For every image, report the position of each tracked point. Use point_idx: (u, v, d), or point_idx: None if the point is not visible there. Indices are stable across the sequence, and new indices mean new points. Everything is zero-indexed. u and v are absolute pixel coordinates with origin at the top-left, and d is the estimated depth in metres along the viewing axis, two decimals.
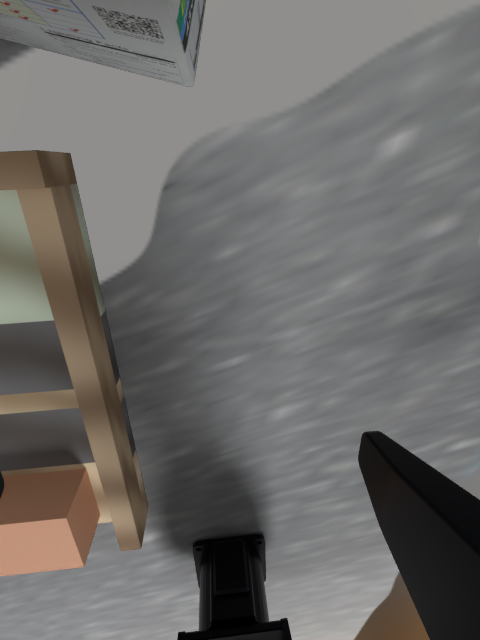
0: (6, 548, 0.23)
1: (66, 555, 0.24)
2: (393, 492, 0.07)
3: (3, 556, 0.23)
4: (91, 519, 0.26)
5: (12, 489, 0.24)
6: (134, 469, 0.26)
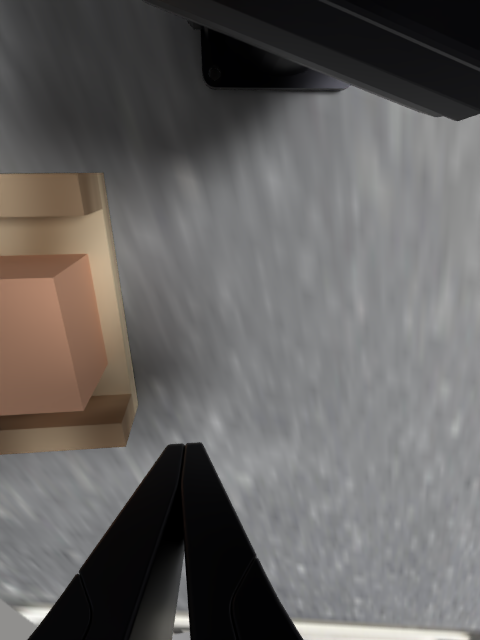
0: (6, 382, 0.14)
1: (19, 301, 0.13)
2: None
3: (29, 390, 0.15)
4: (45, 261, 0.15)
5: None
6: None
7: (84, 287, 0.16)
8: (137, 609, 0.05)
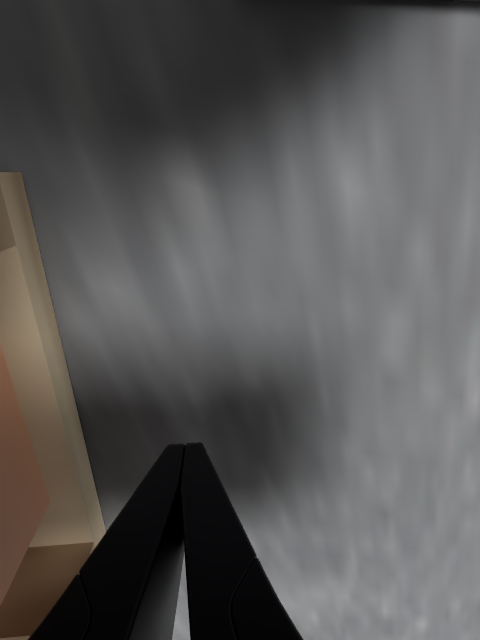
0: None
1: None
2: None
3: None
4: None
5: None
6: None
7: None
8: (137, 609, 0.05)
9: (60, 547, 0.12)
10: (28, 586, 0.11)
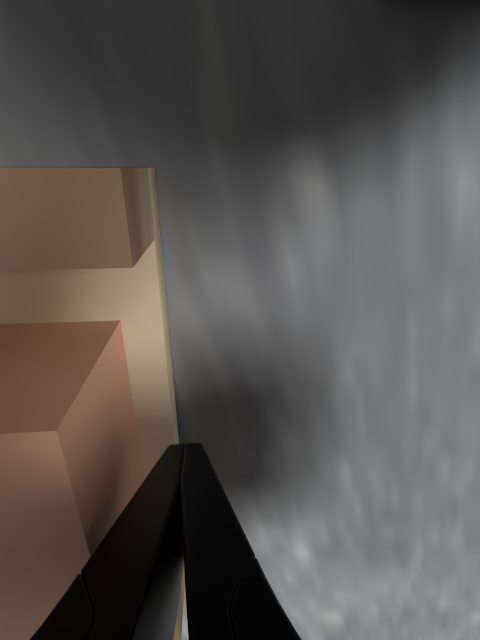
0: None
1: None
2: None
3: (3, 629, 0.07)
4: (38, 350, 0.07)
5: None
6: None
7: (116, 391, 0.08)
8: (139, 609, 0.05)
9: None
10: None
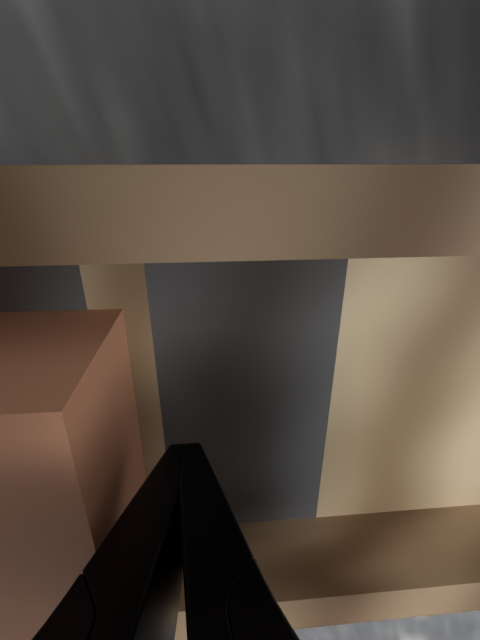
0: None
1: None
2: None
3: (4, 615, 0.07)
4: (41, 336, 0.07)
5: None
6: None
7: (118, 379, 0.08)
8: (141, 609, 0.05)
9: (463, 508, 0.13)
10: (470, 539, 0.12)
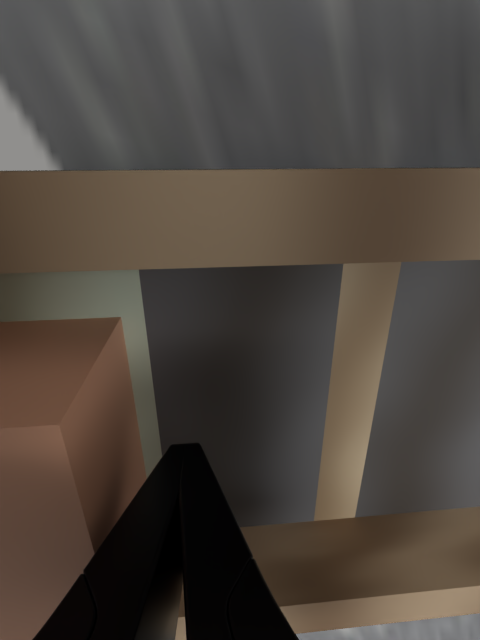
0: None
1: None
2: None
3: (7, 626, 0.07)
4: (39, 346, 0.07)
5: None
6: None
7: (117, 387, 0.08)
8: (142, 608, 0.05)
9: None
10: None
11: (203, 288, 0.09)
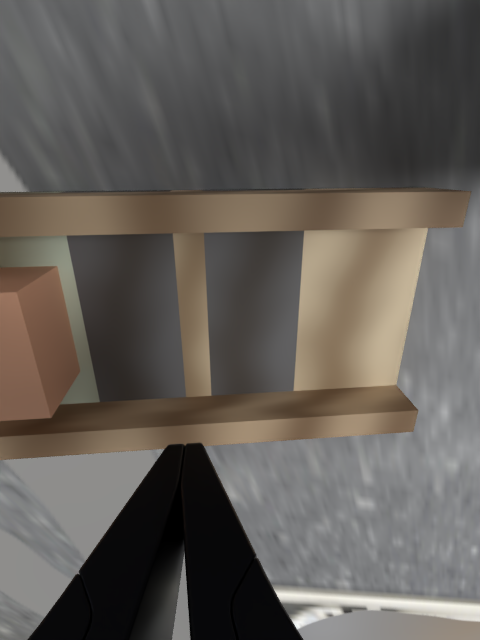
0: None
1: None
2: None
3: None
4: (13, 274, 0.16)
5: None
6: (325, 189, 0.17)
7: (53, 298, 0.16)
8: (137, 609, 0.05)
9: (380, 386, 0.22)
10: (380, 398, 0.21)
11: (101, 251, 0.17)
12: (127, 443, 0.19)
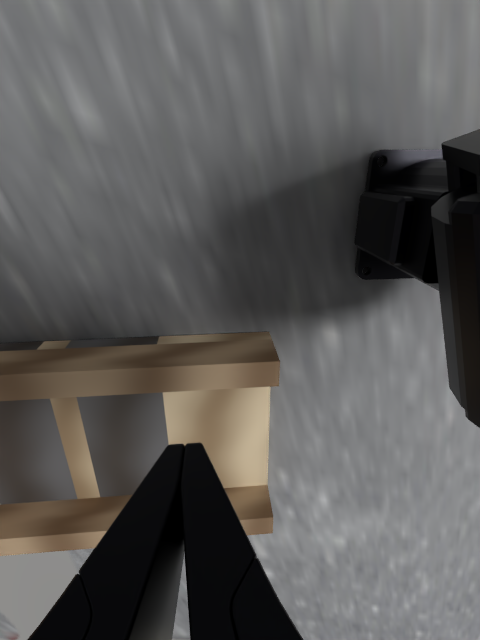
0: None
1: None
2: None
3: None
4: None
5: None
6: (172, 345, 0.19)
7: None
8: (137, 609, 0.05)
9: (252, 487, 0.24)
10: (247, 502, 0.23)
11: None
12: (16, 548, 0.22)
